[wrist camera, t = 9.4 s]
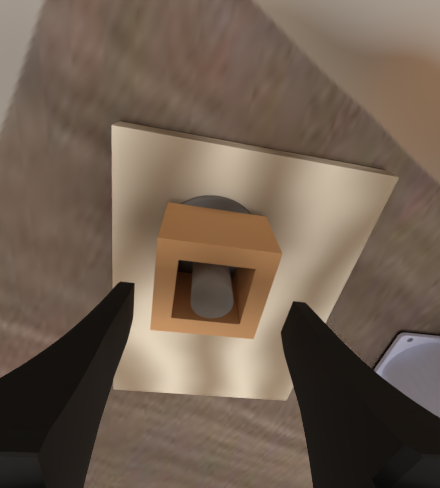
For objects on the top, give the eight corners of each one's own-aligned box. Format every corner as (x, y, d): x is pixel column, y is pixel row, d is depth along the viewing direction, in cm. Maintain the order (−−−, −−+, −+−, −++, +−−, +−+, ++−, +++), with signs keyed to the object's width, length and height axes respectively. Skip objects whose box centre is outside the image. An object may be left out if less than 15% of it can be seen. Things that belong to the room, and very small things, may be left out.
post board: (384, 169, 18) (478, 218, 12) (282, 385, 28) (303, 468, 22) (119, 121, 16) (64, 148, 9) (117, 374, 26) (91, 462, 20)
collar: (266, 216, 16) (282, 253, 13) (244, 291, 19) (253, 339, 16) (167, 202, 16) (157, 237, 12) (160, 282, 18) (150, 329, 15)
